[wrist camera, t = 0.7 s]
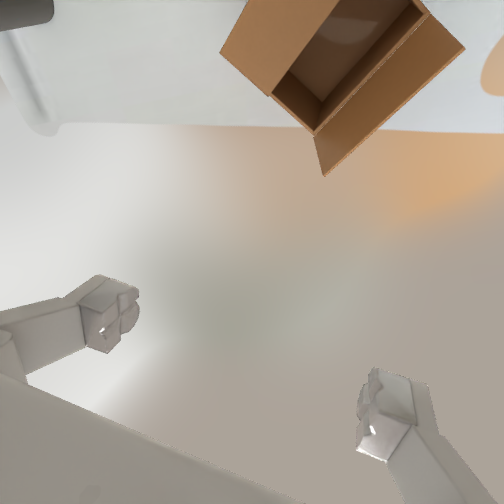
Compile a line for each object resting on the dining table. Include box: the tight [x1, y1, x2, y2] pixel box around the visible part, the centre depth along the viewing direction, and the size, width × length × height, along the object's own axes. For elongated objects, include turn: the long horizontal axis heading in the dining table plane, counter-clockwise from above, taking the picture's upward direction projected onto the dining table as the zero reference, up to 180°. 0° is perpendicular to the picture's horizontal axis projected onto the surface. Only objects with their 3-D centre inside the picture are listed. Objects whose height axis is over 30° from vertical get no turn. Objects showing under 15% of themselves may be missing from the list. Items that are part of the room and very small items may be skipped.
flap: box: [313, 14, 465, 177], centre depth 31 cm, size 15×7×1 cm
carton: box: [219, 0, 430, 136], centre depth 35 cm, size 15×14×12 cm
